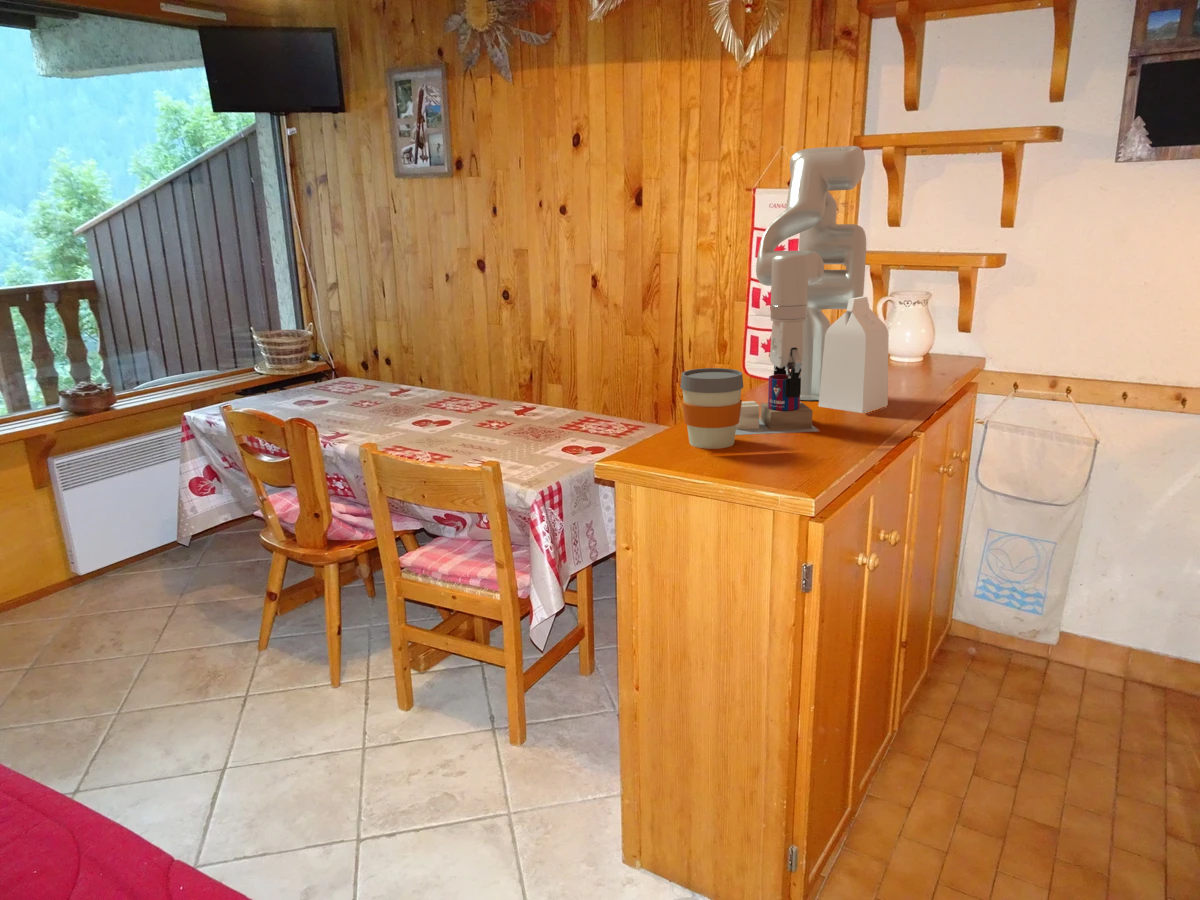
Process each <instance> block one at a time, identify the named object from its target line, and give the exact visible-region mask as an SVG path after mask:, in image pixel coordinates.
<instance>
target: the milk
mask: <svg viewBox="0 0 1200 900" xmlns="http://www.w3.org/2000/svg"><path fill="white" fill-rule="evenodd" d="M889 335H890V333H889V329H888V327H887V326H886V324H885V322H883V321H882V320H881V318H880V317H879V316H877V315H876V313H875V312H874V311H873V310H872V309H871V308H870V304H869V299H868V297H867V296H863V297H858V298H852V299H849V302H848V306H847V309H846V311H845V312H843V314H842V315H841V316H840V317H839V318H837V319H836V320H835V321H834V322H833V323H831V326H830V327H829V328H828V330H827V331H826V334H825V343H824V353H823V364H822V374H821V384H820V395H819V400H818V407H819V408H826V409H832V410H839V411H846V412H852V413H858V414H859V413H860V414H864V413H867V412H870V411H872V410H875V409H879V408H881V407H885V406H887V405H888V404H889V403H888V399H889V398H888V395H889V394H888V393H889ZM888 406H889V405H888ZM885 408H886V407H885Z"/></svg>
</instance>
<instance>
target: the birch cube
mask: <svg viewBox="0 0 1200 900" xmlns="http://www.w3.org/2000/svg"><path fill="white" fill-rule="evenodd" d="M759 418H760V405H759V404H758V403H757V402H756V401H755V400H749V401H748V400H747V401H742V404H741V411H740V419H739V423H738V424H737V425H736V429H758V428H759Z"/></svg>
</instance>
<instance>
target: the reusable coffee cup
mask: <svg viewBox="0 0 1200 900" xmlns="http://www.w3.org/2000/svg"><path fill="white" fill-rule="evenodd" d="M743 376H744V375H743V372H742V371H741V370H738V369H732V368H725V367H724V368H721V367H720V368H719V367H710V368H709V367H708V368H706V367H705V368H695V369H690V370H689V369H688V370H685V371H683V372H681V379H680V389H681V391H682V395H683V398H682V400H681V406H682V413H683V418H684V424H685V425H686V427H687V434H688V442H689V445H690V446H692V447H695V448H699V449H707V450H709V449H710V450H711V449H713V450H716V449H717V450H718V449H725V448H729V447H732V446H733V445H734V444H735V438H736V435H735V433H736V425H737V424H738V423H739V419H740V411H741V404H742V402H743V401H742V399H741V397H742V395H741V394H742V389H744V379H743Z"/></svg>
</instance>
